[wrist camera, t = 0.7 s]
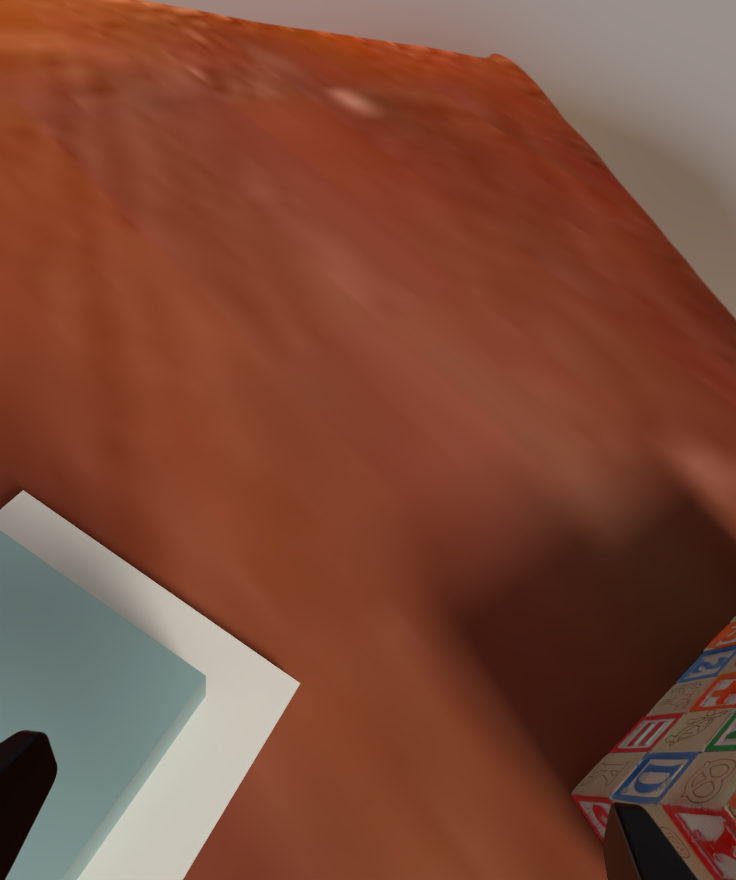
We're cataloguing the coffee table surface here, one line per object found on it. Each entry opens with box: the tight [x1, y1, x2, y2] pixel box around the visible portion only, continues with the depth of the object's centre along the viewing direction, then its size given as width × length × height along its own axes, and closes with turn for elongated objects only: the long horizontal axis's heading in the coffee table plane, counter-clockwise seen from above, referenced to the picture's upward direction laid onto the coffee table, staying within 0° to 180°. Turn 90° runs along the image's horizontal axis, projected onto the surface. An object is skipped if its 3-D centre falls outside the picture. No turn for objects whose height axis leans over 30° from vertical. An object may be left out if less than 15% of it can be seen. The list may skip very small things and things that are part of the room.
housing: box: [0, 530, 206, 880], centre depth 17 cm, size 7×9×6 cm
